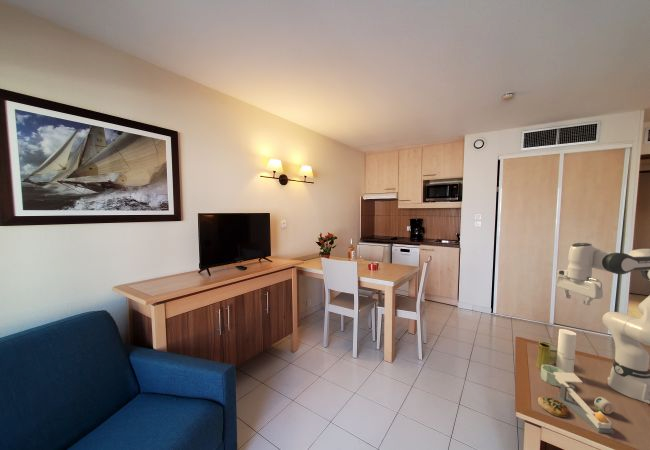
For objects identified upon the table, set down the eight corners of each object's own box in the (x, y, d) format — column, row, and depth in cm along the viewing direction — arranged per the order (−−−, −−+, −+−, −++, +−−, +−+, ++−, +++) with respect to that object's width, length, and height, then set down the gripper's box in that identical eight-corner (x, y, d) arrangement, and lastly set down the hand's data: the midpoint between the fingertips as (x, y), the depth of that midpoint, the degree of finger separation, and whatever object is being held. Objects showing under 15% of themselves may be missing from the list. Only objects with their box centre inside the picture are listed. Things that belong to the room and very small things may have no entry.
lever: (547, 373, 130) (549, 369, 129) (572, 374, 130) (574, 370, 129) (597, 428, 106) (600, 423, 105) (628, 429, 106) (631, 425, 105)
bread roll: (570, 409, 117) (570, 400, 117) (566, 425, 110) (566, 415, 110) (540, 396, 126) (540, 387, 125) (534, 410, 119) (534, 400, 118)
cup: (553, 375, 142) (554, 365, 142) (569, 387, 133) (570, 376, 132) (536, 374, 142) (536, 364, 142) (551, 386, 133) (551, 375, 132)
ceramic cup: (550, 367, 150) (552, 350, 149) (533, 357, 159) (534, 342, 159) (566, 364, 153) (567, 348, 152) (548, 355, 163) (549, 340, 162)
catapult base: (556, 396, 125) (557, 381, 125) (568, 397, 125) (569, 382, 125) (598, 432, 105) (600, 414, 105) (613, 432, 105) (615, 414, 105)
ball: (599, 418, 109) (601, 411, 109) (608, 425, 106) (610, 418, 105) (591, 417, 109) (593, 410, 109) (600, 425, 106) (601, 418, 105)
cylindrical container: (561, 369, 148) (564, 328, 146) (576, 377, 141) (579, 334, 139) (552, 371, 146) (555, 329, 144) (567, 379, 139) (570, 335, 137)
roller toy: (591, 406, 119) (592, 395, 119) (605, 407, 119) (606, 395, 119) (601, 414, 115) (602, 402, 114) (615, 415, 115) (616, 403, 114)
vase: (552, 372, 145) (554, 348, 144) (540, 370, 146) (541, 347, 145) (545, 365, 151) (546, 343, 150) (533, 364, 152) (535, 341, 151)
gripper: (608, 280, 117) (605, 309, 118) (565, 270, 137) (563, 294, 138) (595, 280, 117) (592, 309, 118) (554, 269, 137) (552, 294, 138)
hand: (576, 301), depth 128 cm, fingers open, 8 cm apart
